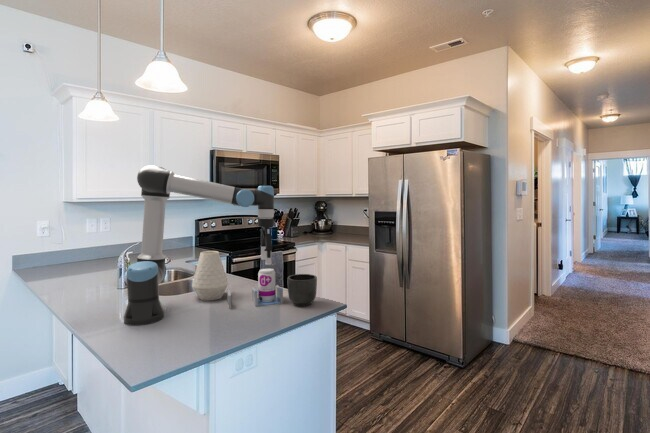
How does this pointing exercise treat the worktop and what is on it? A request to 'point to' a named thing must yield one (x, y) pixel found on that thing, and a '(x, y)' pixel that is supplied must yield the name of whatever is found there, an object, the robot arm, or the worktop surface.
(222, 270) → the vase
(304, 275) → the planter
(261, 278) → the supplement can
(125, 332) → the worktop surface
